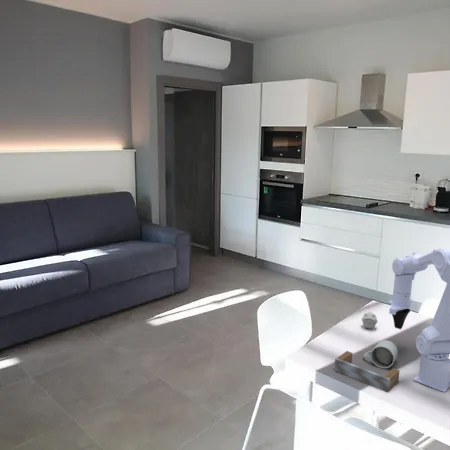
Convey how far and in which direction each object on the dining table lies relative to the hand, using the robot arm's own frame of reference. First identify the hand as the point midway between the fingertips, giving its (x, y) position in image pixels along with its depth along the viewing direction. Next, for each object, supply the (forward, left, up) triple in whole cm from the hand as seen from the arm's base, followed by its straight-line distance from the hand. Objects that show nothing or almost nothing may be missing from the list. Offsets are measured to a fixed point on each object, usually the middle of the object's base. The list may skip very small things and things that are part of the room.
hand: (398, 327), depth 157 cm
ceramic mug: (+1, +12, -9) cm, 15 cm away
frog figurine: (+16, -12, -9) cm, 22 cm away
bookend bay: (0, +24, -9) cm, 25 cm away
